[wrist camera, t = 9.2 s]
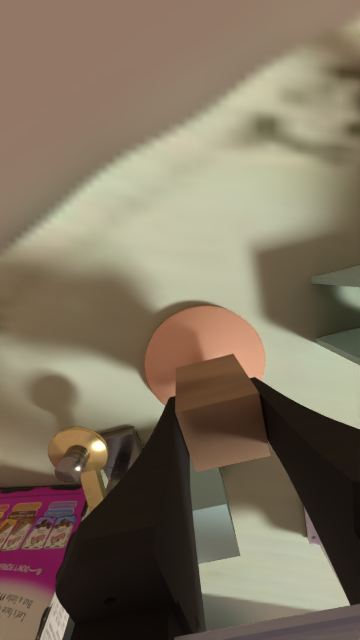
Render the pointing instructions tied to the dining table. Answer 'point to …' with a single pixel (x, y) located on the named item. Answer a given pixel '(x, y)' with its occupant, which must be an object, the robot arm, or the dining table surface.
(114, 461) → the balance
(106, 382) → the dining table surface
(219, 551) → the teal cover
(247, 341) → the terracotta dish
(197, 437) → the walnut block
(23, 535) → the candy bar box
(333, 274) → the teal cover
